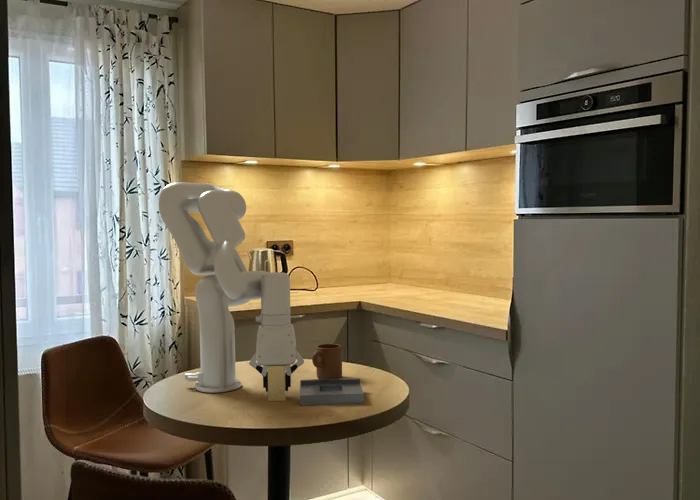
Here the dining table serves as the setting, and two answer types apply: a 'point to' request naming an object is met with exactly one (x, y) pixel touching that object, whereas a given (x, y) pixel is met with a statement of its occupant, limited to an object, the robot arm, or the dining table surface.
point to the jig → (331, 391)
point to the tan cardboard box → (276, 383)
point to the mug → (328, 361)
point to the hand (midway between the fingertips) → (277, 389)
